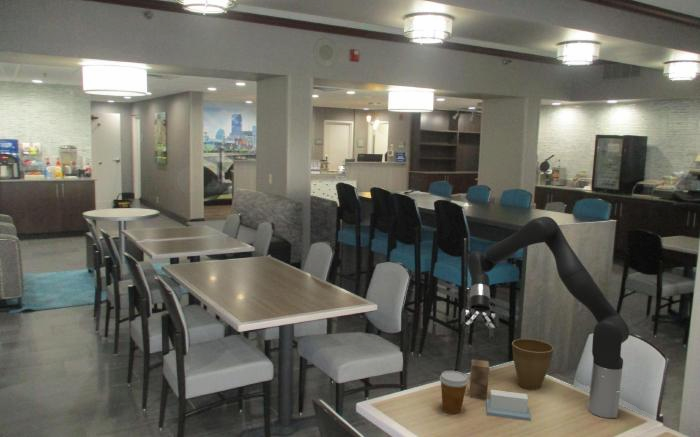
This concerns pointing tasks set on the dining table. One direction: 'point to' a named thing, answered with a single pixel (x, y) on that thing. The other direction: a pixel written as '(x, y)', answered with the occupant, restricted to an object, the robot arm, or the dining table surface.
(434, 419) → the dining table surface
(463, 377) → the disposable coffee cup
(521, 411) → the butter dish
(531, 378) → the plant pot
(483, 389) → the post
